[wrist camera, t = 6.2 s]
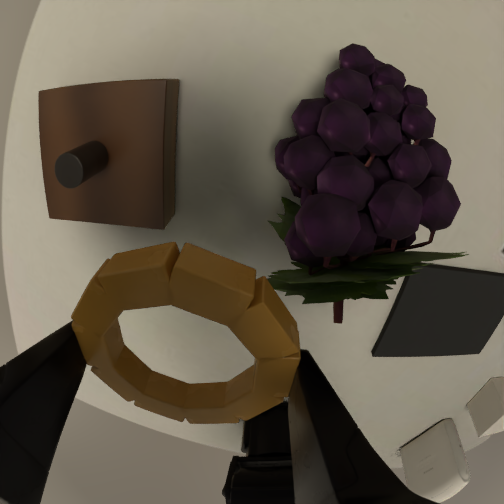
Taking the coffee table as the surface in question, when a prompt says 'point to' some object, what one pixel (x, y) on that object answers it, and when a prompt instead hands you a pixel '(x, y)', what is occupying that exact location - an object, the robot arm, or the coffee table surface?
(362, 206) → the fruit
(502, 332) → the coffee table surface
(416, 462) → the photo printer
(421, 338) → the mat
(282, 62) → the coffee table surface
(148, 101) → the peg stand
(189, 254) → the ring
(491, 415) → the white cube
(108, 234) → the coffee table surface
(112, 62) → the coffee table surface
